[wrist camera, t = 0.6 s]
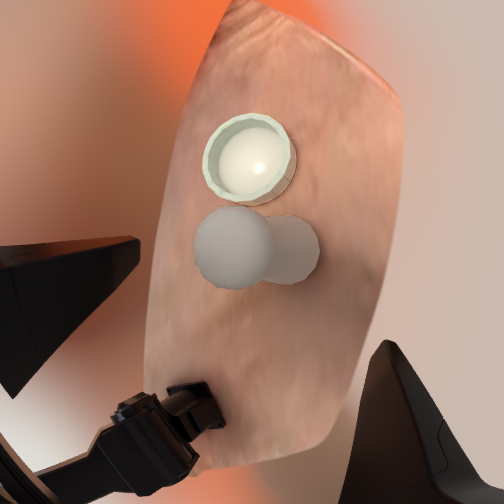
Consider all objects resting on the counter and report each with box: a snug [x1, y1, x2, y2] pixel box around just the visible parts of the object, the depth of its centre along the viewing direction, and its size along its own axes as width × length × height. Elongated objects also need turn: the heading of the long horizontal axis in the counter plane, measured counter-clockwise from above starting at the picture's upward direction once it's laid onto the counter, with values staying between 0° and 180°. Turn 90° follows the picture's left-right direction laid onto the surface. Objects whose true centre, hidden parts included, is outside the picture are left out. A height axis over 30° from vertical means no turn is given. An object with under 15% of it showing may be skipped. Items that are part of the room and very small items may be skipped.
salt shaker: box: [193, 206, 320, 290], centre depth 19 cm, size 6×6×13 cm
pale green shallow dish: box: [203, 113, 297, 206], centre depth 25 cm, size 9×9×2 cm
